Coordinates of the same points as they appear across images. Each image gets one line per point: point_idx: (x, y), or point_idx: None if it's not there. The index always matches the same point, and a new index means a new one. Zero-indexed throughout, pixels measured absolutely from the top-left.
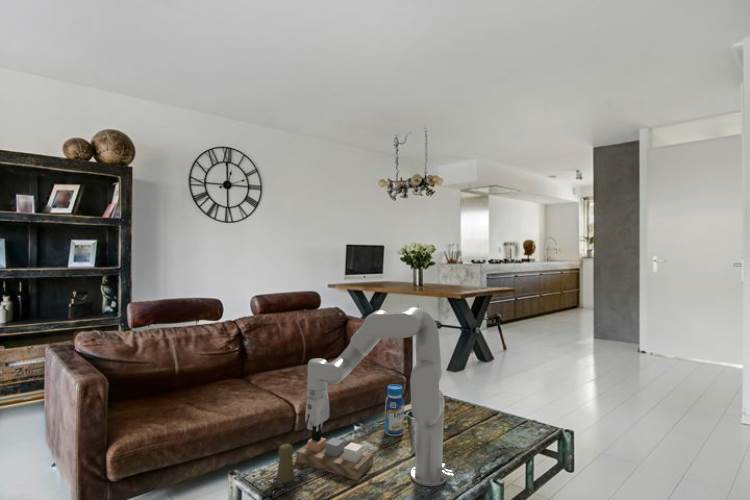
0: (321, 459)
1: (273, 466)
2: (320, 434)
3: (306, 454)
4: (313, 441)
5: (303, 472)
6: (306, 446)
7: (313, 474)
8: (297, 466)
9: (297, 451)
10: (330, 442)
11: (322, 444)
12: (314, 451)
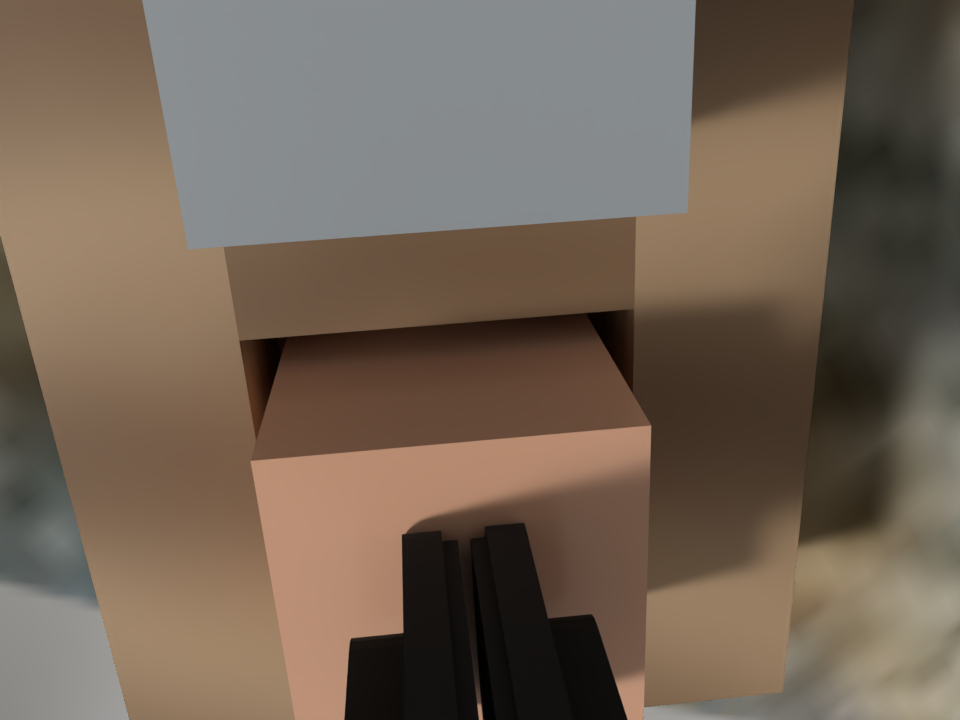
0: (830, 80)
1: (952, 709)
2: (445, 639)
3: (801, 479)
4: None
5: (951, 273)
6: None
7: (951, 79)
8: (824, 466)
9: (782, 672)
10: (560, 79)
11: (441, 402)
12: None
